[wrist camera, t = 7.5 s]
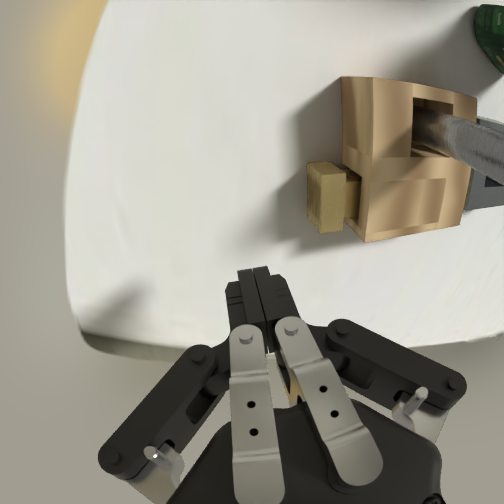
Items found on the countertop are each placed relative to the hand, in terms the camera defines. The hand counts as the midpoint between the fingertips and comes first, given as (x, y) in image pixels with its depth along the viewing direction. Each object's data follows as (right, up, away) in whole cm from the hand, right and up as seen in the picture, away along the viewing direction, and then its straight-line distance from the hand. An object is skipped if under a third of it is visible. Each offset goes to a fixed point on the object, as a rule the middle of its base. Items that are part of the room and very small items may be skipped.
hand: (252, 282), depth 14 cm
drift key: (+9, +8, +10) cm, 15 cm away
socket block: (+14, +11, +9) cm, 20 cm away
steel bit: (+14, +13, +6) cm, 20 cm away
